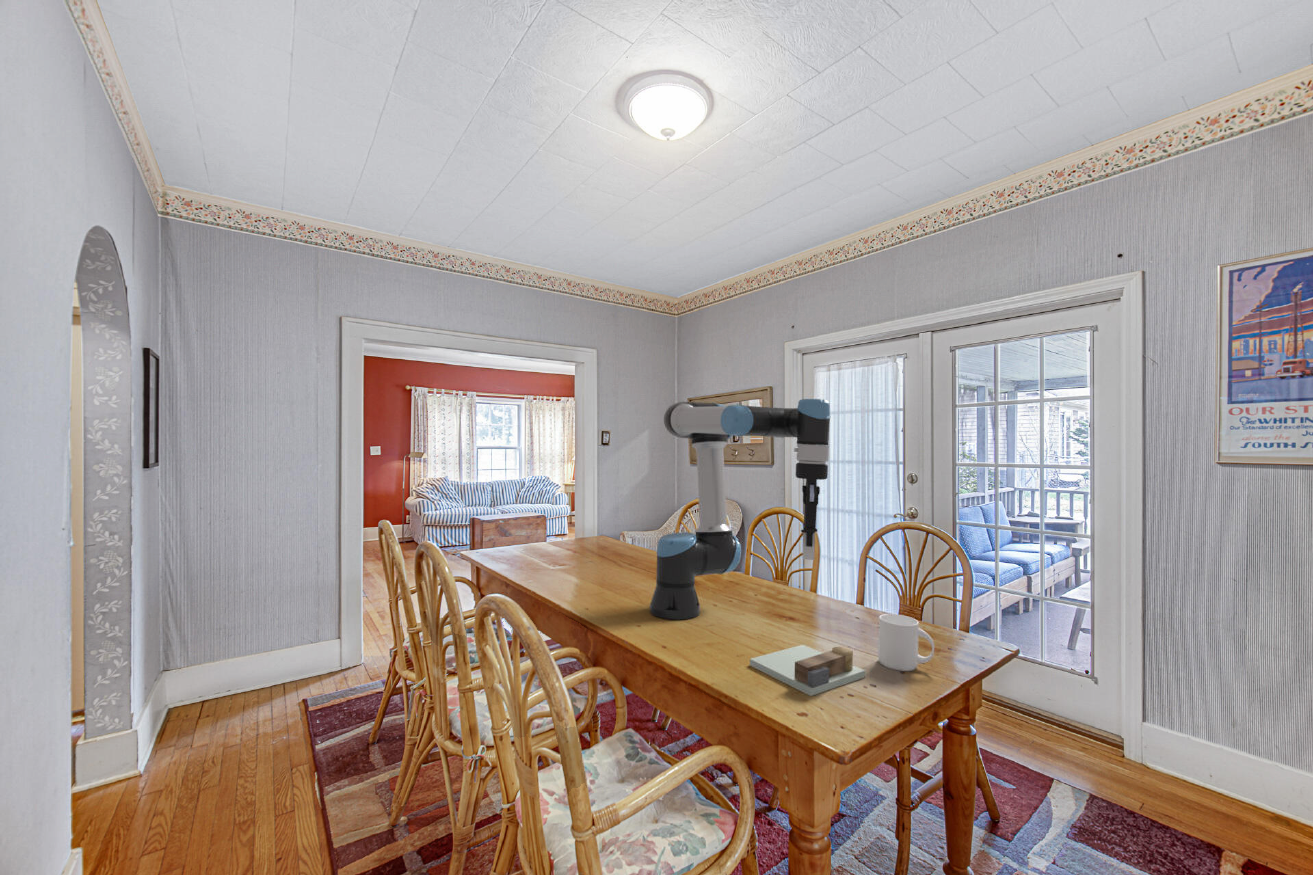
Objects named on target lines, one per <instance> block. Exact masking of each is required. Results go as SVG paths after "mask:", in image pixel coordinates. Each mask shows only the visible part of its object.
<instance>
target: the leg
mask: <svg viewBox="0 0 1313 875" xmlns="http://www.w3.org/2000/svg"><path fill="white" fill-rule="evenodd" d="M853 656H854V652H853V650H852V649H851V648H848V647H845V646H834V647H832V650H829V651H826V652H822V654H819V655H816V656H813V657H809V658H806V659H803V660H800V661H797V662H795V677H794V679H797V680H799V681H801V682H803V683H805V684H807V681H808V671H810V670H813V669H816V668H820V667H823V666H824V667H826V668H829V677H831V676H833V675H836V674H839V673H842V672H845V671H851V670H852V668H853V666H854V665H853V663H854V662H853V659H854V658H853Z"/></svg>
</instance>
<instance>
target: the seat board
mask: <svg viewBox="0 0 1313 875" xmlns="http://www.w3.org/2000/svg"><path fill="white" fill-rule="evenodd" d="M822 653H823V652H821V651H818V650H816V649H814V648H812V647H809V646H807V645H805V644H801V645H795V646H793V647H789V648H785V649H780V650H778V651H775V652H770V653H767V654H763V655H759V656H756V657H751V658H749V666H750V667H752V668H754V669H757V670H758V671H759V672H760V671H761V672H762V673H764V674H766V675H768V676H770V677H772V678H774V679H776V680H778V681H780V682H782V683H784V684H786V685H788V686H790V687H792V688H794V689H796V690H798V691H800V692H802V693H803V694H806V695H808V696H810V697H813V696H816V695H819V694H822V693H824V692H826V691H829V690H832V689H835V688H838V687H840V686H843V685H847V684H850V683H852V682H855V681H858V680H861V679H864V678H866V670H865V669H862V668H861V667H858V666H855V665H853V668H852V670H851V671H845V672H842V673H839V674H836V675H833V676H831V677H829V683H827V684H824V685H821V686H818V687H815V688H811V687H809V686H807V684H805V683H803V682H801V681H799V680H797V679H794V677H795V662H797V661H800V660H803V659H806V658H809V657H813V656H816V655H819V654H822Z"/></svg>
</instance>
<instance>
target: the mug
mask: <svg viewBox="0 0 1313 875" xmlns="http://www.w3.org/2000/svg"><path fill="white" fill-rule="evenodd" d="M919 625H920V624H919V621H918V620H917V619H915V618H914V617H911V616H907V615H903V614H896V613H885V614H881V615H879V617H878V649H877V650H878V652H877V654H878V662H879V663H880V664H881V665H882V666H884V667H885V668H888V669H890V670H895V671H899V672H901V671H902V672H911V671H915V669H917V668H918V664H925V663H928V662H930V661H931V660H932V658H933V656H934V653H935V642H934V640H933V638H932V637H931V636H930V635H929V633H927V632H926V631H925V630H923V629H922V628H921V627H919ZM919 637H920V638H924V639H926V640H927V641H928V642H929V644H930V646H931V648H932V649H931V653H930V654H929V655H927V656H923V655H920V654H919Z"/></svg>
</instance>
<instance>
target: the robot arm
mask: <svg viewBox="0 0 1313 875" xmlns="http://www.w3.org/2000/svg"><path fill="white" fill-rule="evenodd" d="M830 420H831V408H830V401H828V400H827V399H822V398H803V399H800V400H798V404H797V407H796V408H794V407H792V408H791V407H790V408H789V407H788V408H787V407H774V406H773V407H771V406H770V407H769V406H753V405H745V404H730V405H724V404H718V403H715V402H694V401H693V402H691V401H679V402H676V403H674V404H673V403H672V405H670V406H669V407H668V408H667V409H666V411H665V412H664V417H663V424H664V427H665V429H666V430H667V431H668V433H669V434H671V435H672V436H674V437H677V438H680V439H690V440H691V447H692V448H694V449H695V451H696V468H697V471H696V472H697V487H698V488H697V489H698V490H697V492H698V508H699V509H698V512H699V526H698V527H697V528H696V529H695V533H693V532H685V531H684V532H673V533H668V534H665V535H663V536H661V537H660V538H659V539H658V541H657V548H656V582H655V583H656V584H655V585H656V586H655V589H654V591H653V594H652V598H651V601H650V604H649V613H650V614H651V615H653V616H654V617H657V618H660V619H665V620H679V621H680V620H689V619H694V618H696V617H698V616H700V613H701V605H700V602H699V598H698V595H697V590H696V586H695V583H696V582H695V581H696V580H695V579H696V576H698V577H700V576H707V575H708V576H709V575H717V574H718V575H723V574H727V573H731V572H733V571H734V570H735V569H736V568H737V567H738V565H739V563H740V561H741V557H742V546H741V543H740V542H739V540H740V539H738V537H737V536H736V535H734V534H733V529H732V528H731V527H730V526H729V525H728V519H727V518H728V516H727V500H726V498H727V495H726V480H725V460H724V458H725V456H724V449H725V448H726V447H727V445H728V440H729V439H730V438H732V436H734V437H770V438H773V437H774V438H780V439H781V438H796V447H795V448H794V449H793V452H795V453H796V461H798V462H797V463H795V477H796V478H797V479H803V480H805V485H804V484H803V485H802V488H801V492H802V502H803V506H804V507H803V508H804V509H803V523H802V526H803V529H801V530H800V532H801V534H802V533H803V536H802V537H803V538H802V560H809V561H810V560H811V561H815V548H816V533H818V528H816V527H817V510H818V508H817V507H818V505H819V495H820V493H821V492H820V491H821V488H820V486H819V485H817V483H818V482H817V480H820V481H821V480H824V481H825V480H827V479H828V476H829V475H828V474H829V473H828V471H829V470H828V468H829V466H828V464H827V463H828V461H829V456H830V455H829V454H830V453H829V452H830V451H829V449H830V445H829V442H830V441H829V440H830V424H831V423H830V422H831V421H830Z"/></svg>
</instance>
